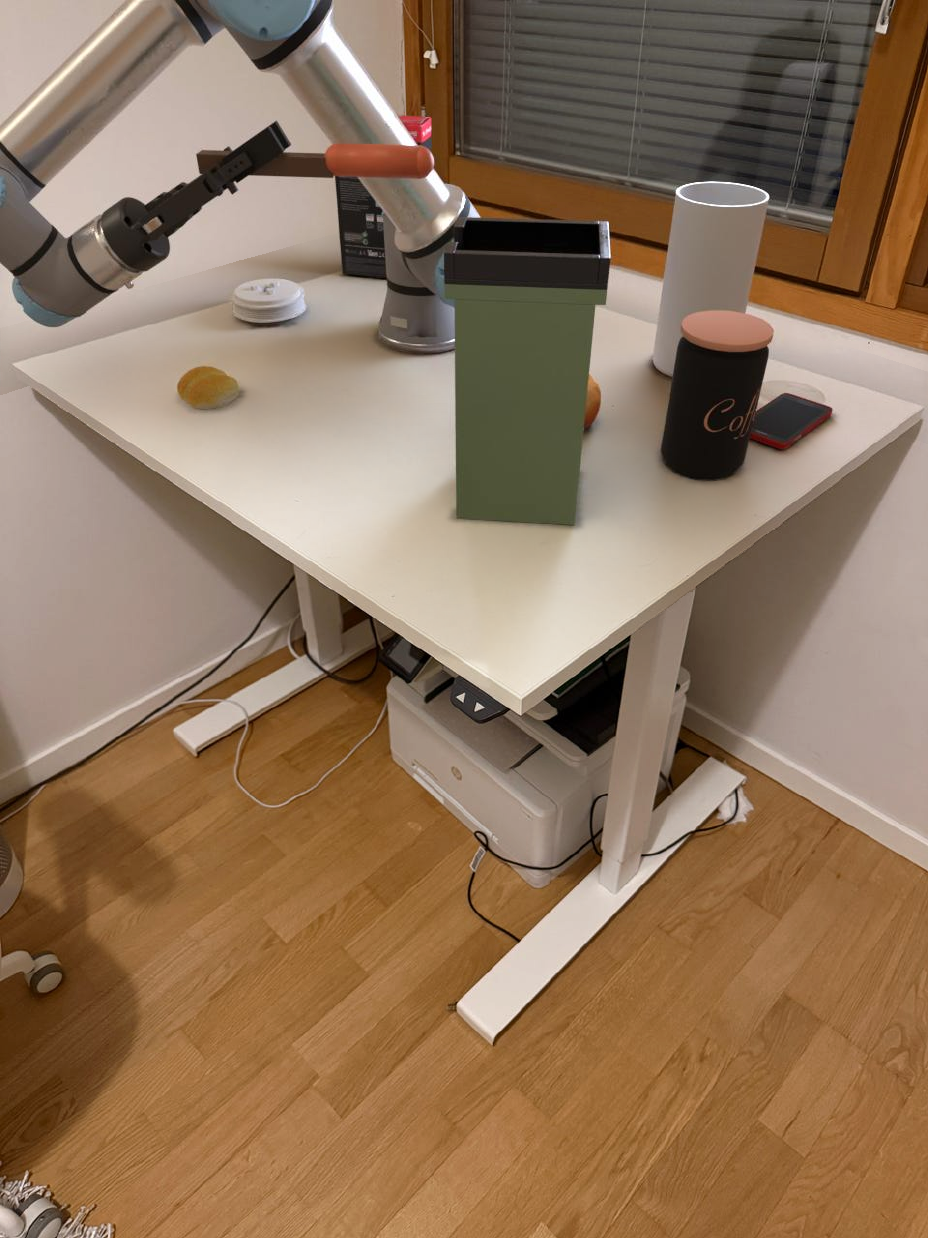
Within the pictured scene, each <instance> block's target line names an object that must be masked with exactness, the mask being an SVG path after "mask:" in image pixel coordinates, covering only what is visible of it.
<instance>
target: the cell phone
mask: <svg viewBox="0 0 928 1238" xmlns="http://www.w3.org/2000/svg"><path fill="white" fill-rule="evenodd" d="M832 414H833V407H831V406H829V405H827V404H823V403H820V402H817V401H813V400H810V399H807V398H806V397H802V396H799V395H796V394H792V393H789V392H783V393H781V394H780V395H778V396H776V397H774V399H772V400H770V401H769V402H767V403H766V404H765V405H763V406H762V407H759V409H756V413H755V417H754V421H753V426H752V430H751V434H750V439H751V440H753V441H757V442H759V443H762V444H765V445H768V446H769V447H773V448H775V449H779V450H785V449H787V448H789V447H791V446H792V445H793V444H794V443H795V442H796V441H797V440H799V439H800V438H802V437H804V436H805V435H807V434H808V433H809V432H811V431H812V430H813V429H814V428H816V427H817V426H818V425H820V424H821V423H822V422H824V421H825V420H826V419H828V418H829V417H830V416H831V415H832Z"/></svg>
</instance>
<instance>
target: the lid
mask: <svg viewBox="0 0 928 1238" xmlns="http://www.w3.org/2000/svg"><path fill="white" fill-rule="evenodd" d="M304 297H305V289H304V288H303V287H302V286H300V285H299V284H298V283H296V282H294V281H292V280H289V279H283V278H260V279H255V280H250V281H246V282H244V283H241V284H240V285H238V286H237V287H236V288H235V289H234V290H233V291H232V292H231V293H230V295H229V298H230V301H231V303H232V305H233V308H232V314H233V315H234V317H236V319H239V320H242V321H245V322H250V323H261V324H265V323H267V324H268V323H276V322H283V321H287V320H290V319H291V320H292V319H294V318H296V317H299V316H300V315H302V314H303V313H304V312H305V311H306V309H307V305H306V304H307V303H306V302H305V298H304Z"/></svg>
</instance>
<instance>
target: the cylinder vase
mask: <svg viewBox="0 0 928 1238" xmlns="http://www.w3.org/2000/svg"><path fill="white" fill-rule="evenodd" d="M769 200H770V195H769V193H768V192H766V191H765V190H763V189H760V188H758V187H755V186H751V185H747V184H742V183H735V182H725V181H703V182H702V181H701V182H693V183H688V184H684V185H681V186H680V187H678V188H677V189H676V190H675V198H674V202H673V203H674V204H673V210H672V217H671V223H670V224H671V225H670V226H671V227H670V232H669V239H668V246H667V254H666V260H665V267H664V276H663V282H662V288H661V289H662V290H661V295H660V303H659V310H658V318H657V323H656V331H655V337H654V346H653V353H652V363H653V365H654V366H655V368H656V369H657V370H658V371H659V372H661V373H662V374H664V375H665V376H668V377H670V378H672V377H673V371H674V365H675V358H676V352H677V346H678V343H679V340H680V338H681V337H682V336H683V335H682V333H681V324H682V321H683V319H684V318H686V317H687V316H688V315H691V314H694V313H697V312H702V311H710V310H725V311H735V312H741V313H745V314H746V313H747V307H748V302H749V299H750V298H749V297H750V292H751V288H752V283H753V279H754V273H755V267H756V263H757V259H758V253H759V249H760V244H761V239H762V234H763V230H764V224H765V221H766V215H767V209H768V207H769V206H768V205H769V202H770V201H769Z"/></svg>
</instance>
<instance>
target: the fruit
mask: <svg viewBox="0 0 928 1238" xmlns="http://www.w3.org/2000/svg"><path fill="white" fill-rule="evenodd" d="M601 400H602V393H601V388H600V386H599V384H598V383H597V382H596V380H595V379H594V377H593V376H592V375H591V374H590V373H589V379H588V389H587V400H586V410H585V421H584V429H586V428H589V427H590V426H591V425H593V423H594V422H595V420H596V418H597V417H598V414H599V412H600V408H601V403H602V401H601Z"/></svg>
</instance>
